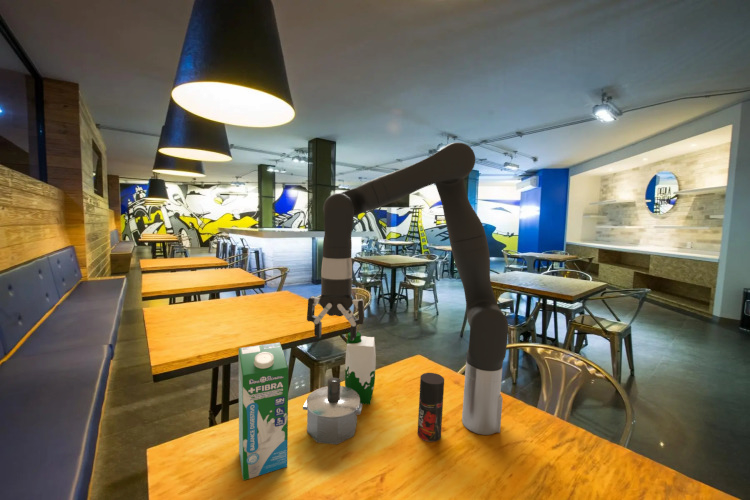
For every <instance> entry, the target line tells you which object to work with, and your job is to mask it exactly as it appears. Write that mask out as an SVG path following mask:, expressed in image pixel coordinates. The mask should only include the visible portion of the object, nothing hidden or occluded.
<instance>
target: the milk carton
mask: <svg viewBox="0 0 750 500" xmlns="http://www.w3.org/2000/svg"><path fill="white" fill-rule="evenodd" d="M288 426H289V366H288V363H287V360H286V356H285V353H284V351H283V347H282V344H281V342H275V343H274V342H273V343H265V344H260V345H259V344H257V345H253V346H246V347H239V348H238V453H239V461H240V469H241V475H242V481H246V480H249V479H253V478H255V477H258V476H261V475H262V476H263V475H265V474H268V473H271V472H272V473H273V472H275V471H278V470H281V469H283V468H287V467H288V446H289V445H288V442H289V441H288V436H289V434H288V432H289V431H288V429H289V427H288Z"/></svg>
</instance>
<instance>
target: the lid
mask: <svg viewBox="0 0 750 500" xmlns="http://www.w3.org/2000/svg"><path fill="white" fill-rule="evenodd" d="M306 400H307V408H308V410H309V411H310V412H311V413H312V414H314V415H316V416H319V417H322V418H341V417H345V416H348V415H350V414H352V413H353V412H355V411H356V410H357V409H358V407H359V405H360V397H359V395H358V393H357V392H356V391H354V390H353V389H350V388H348V387H345V385H344V386H343V385H341V379H340V378H339V377H331V378H329V379H327V386H322V387H320V388H317V389H314V391H312V392H311V393H309V395H307V398H306Z"/></svg>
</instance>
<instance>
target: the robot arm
mask: <svg viewBox="0 0 750 500" xmlns="http://www.w3.org/2000/svg"><path fill="white" fill-rule="evenodd" d="M475 165H476V155H475V152H474V150H473V148H471V147H470V145H468V144H467V143H464V142H451V143H448V144H447V145H445V146H443V147H442V148H441V149H440V150H438V151H437V152H435V153H434V154H431V155H430V156H428V157H426V158H423V159H422V160H420V161H417V162H415V163H413V164H410V165H408V166H405V167H404V168H401V169H398V170H395V171H392V172H389V173H387V174H383V175H380V176H378V177H375V178H373V179H370V180H368V181H365V182H363V183H362V184H360V185H357V186H356V187H353V188H351V189H348V190H346V191H342V192H337V193H336V192H335V193H333V194H331V195H329V196H328V197H327V198H326V200H324V203H323V206H322V207H323V225H324V226H323V227H324V236H323V241H322V262H321V271H320V274H321V277H320V278H321V279H320V280H321V285H320V286H321V289H320V294H321V295H320V297H316V296H315V295H312V296H310V297H309V298H308V299H307V313H306V321H307V322H311V323H313V324H314V329H313V330H314V332H313V333H314V336H315V337H316V339H321V338H322V332H323V331H322V327H323V325H322V323H323V322H322V319H323V318H324V317H325V316H326V315H328V316H329V317H330V316H331V317H334V316H335V317H342V316H344V317H345V319H346V320H347V321H348V323H350V331H349V332H350V340H352V341H353V340H354V338H356V335H357V332H358V325H363V324H364V322H365V319H366V318H365V299H364V298H359V299H354V298H353V295H352V288H353V287H352V284H353V282H352V281H353V263H352V245H353V243H352V242H353V241H352V233H353V232H352V231H353V228H354V227H353V224H354V217H357V216H359V215H360V214H361V215H362V214H363V213H365V212H368V211H374V210H376V209H381V208H382V207H384V206H387V205H389V204H393V203H395V202H396V201H398V200H401V199H403V198H405V197H406V196H409V195H411V194H414V193H415V192H417V191H420V190H421V189H422V190H423V188H426V187H428V186H431V185H434V184H435V186H436V191H437V192H438V193H437V194H438V196H439V198H440V201H441V205H442V209H443V210H442V211H443V216H444V220H445V225H446V229H447V233H448V240H449V243H450V244H449V245H450V247H451V252H452V256H453V260H454V263H455V267H456V269H457V273H458V275H459V278H460V281H461V283H462V288H463V292H464V298H465V305H466V318H467V323H468V325H469V341H468V349H467V350H466V356H465V372H464V373H465V374H464V386H463V387H464V389H463V399H462V400H463V401H462V403H463V404H462V413H461V417H462V418H461V423H462V425H463V426H464V427H465V428H466V429H467V430H469V431H470V432H473V433H475V434H478V435H484V436H489V435H493V434H495V433H501V424H502V413H503V411H502V410H503V401H504V400H503V396H502V394H501V391H502V390H501V389H502V380H503V379H502V376H503V365H504V360H505V358H506V355H507V354H506V353H507V346H508V335H509V321H508V319H507V316H506V315H505V314H504V313H503V311H502V309H500V307H499V305H498V301H497V300H496V296H495V293H494V290H493V286H492V282H491V259H490V258H491V256H490V249H489V244H488V239H487V235H486V231H485V227H484V225H483V223H482V221H481V219H480V218H479V215H478V214H477V213H476V211H475V210H474V208H473V206H472V204H471V202H470V200H469V197H468V194H467V189H466V185H465V184H466V183H465V178H466V177H467V176H469V175H470V174H471V172H472V171H473V170H474V168H475ZM318 304H319V305H320V306H321V308H322V309H321V311H320V313H319V314H318V315H315V309H316V306H317V305H318ZM353 305H354V307H355V308H356V309H357V313H358V314H357V315H358V316H357V317H358V318H357V317H356V316H355V314H354V312H353V311H352V310H351V307H352V306H353Z"/></svg>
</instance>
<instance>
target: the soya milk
mask: <svg viewBox="0 0 750 500" xmlns="http://www.w3.org/2000/svg"><path fill="white" fill-rule="evenodd" d="M376 353H377V352H376V343H375V336H365V335H362V333H360V332H359V331H357V335H356V338H354V340H353V341H352V340H350V331H349V332H348V333H347V339H346V351H345V362H344V363H345V365H344V366H345V368H344V387H348V388H350V389H353V390H354V391H356V392H357V393H358V395H359V397H360V403H362V405H371V403H372V399H373V394H374V393H373V392H374V389H375V383H376V363H377V361H376V359H377V357H376Z"/></svg>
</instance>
